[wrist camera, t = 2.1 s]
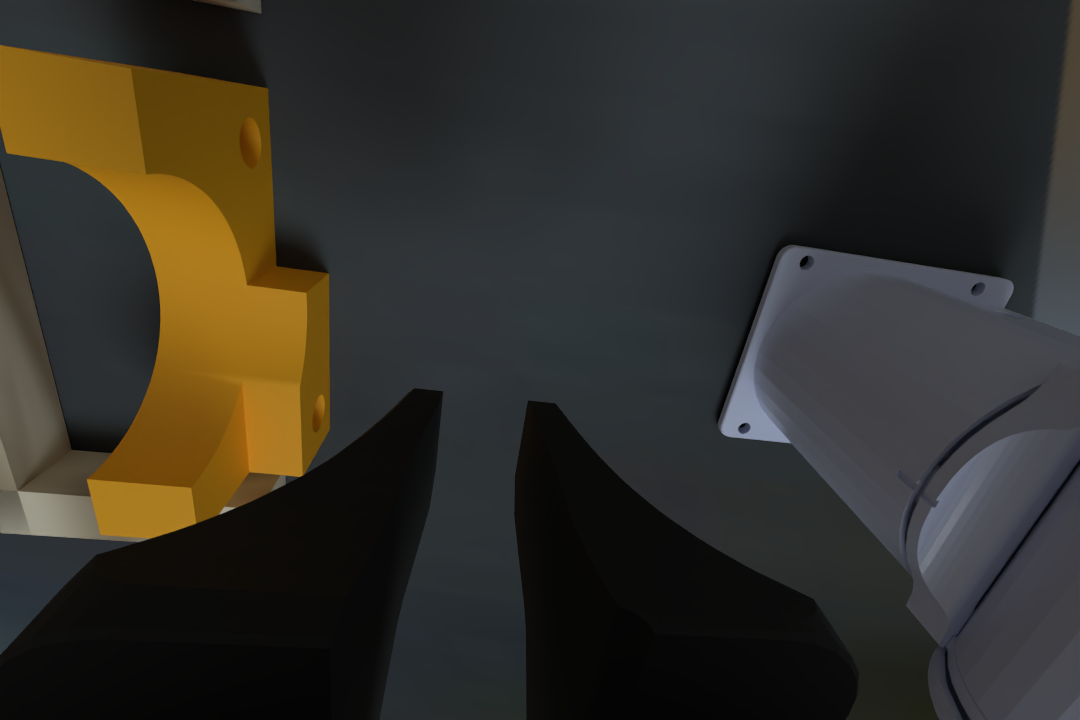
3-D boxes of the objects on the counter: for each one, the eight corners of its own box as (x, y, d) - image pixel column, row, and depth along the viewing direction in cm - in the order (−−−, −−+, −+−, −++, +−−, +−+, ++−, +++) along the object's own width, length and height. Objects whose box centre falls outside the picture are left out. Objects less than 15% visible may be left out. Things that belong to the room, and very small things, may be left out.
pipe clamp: (331, 426, 21) (263, 546, 15) (216, 415, 20) (100, 534, 14) (329, 98, 16) (227, 85, 10) (179, 72, 15) (-21, 41, 10)
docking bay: (257, -73, 14) (209, -112, 12) (286, 506, 22) (262, 550, 20) (-172, -165, 13) (-318, -227, 10) (27, 486, 21) (-31, 530, 18)
